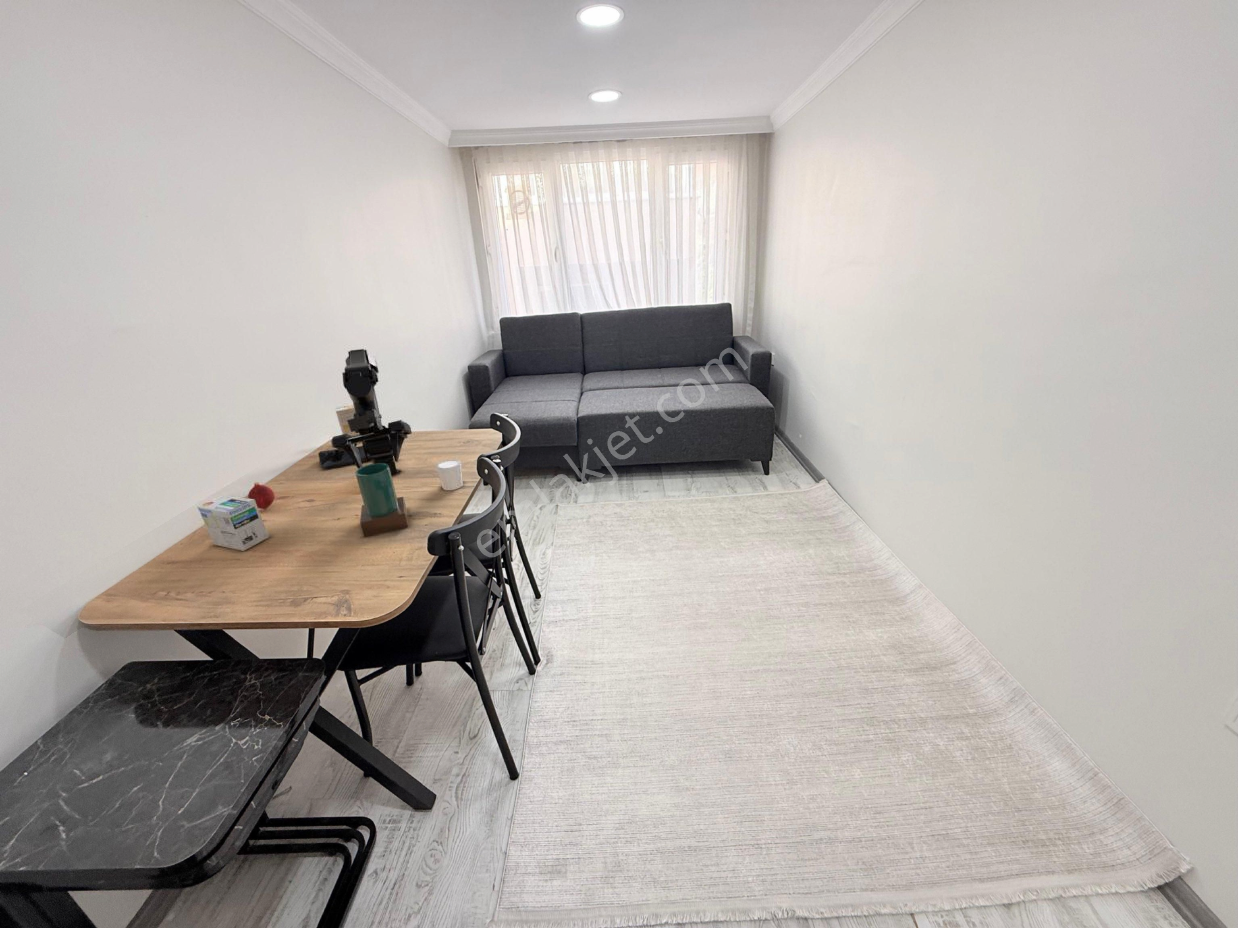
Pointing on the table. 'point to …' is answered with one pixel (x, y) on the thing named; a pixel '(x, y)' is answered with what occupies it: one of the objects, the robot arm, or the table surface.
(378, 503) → the cup
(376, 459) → the robot arm
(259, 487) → the pomegranate
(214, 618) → the table surface
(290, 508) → the table surface
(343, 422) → the supplement box
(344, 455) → the dark slate chunk
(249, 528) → the light bulb box
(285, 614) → the table surface
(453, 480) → the white cylinder
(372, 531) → the block
